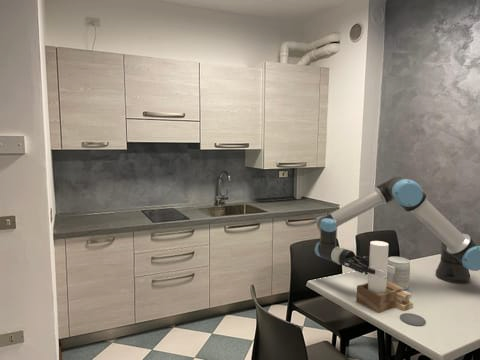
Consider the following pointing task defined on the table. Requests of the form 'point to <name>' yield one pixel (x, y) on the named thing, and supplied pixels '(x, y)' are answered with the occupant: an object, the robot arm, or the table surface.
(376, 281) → the cylindrical container
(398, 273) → the supplement tub
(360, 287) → the offcut rack
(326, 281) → the table surface
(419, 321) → the rubber mat
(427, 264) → the table surface
